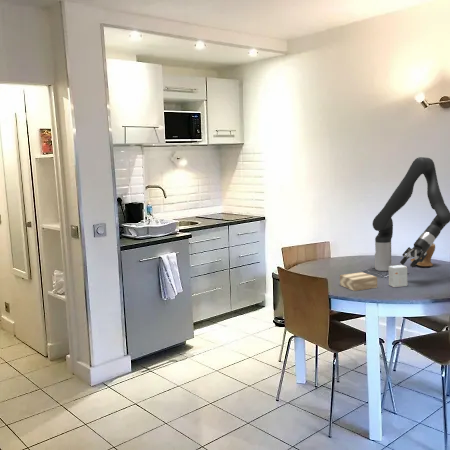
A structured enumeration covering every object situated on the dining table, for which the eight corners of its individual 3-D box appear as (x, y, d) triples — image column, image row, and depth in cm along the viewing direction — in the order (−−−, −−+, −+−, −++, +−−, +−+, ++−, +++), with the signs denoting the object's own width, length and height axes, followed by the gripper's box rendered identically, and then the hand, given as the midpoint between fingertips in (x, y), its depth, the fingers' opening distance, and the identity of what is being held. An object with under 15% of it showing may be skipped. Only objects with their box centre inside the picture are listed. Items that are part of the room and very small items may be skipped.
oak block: (340, 285, 277) (339, 274, 276) (362, 282, 281) (362, 272, 281) (354, 291, 264) (354, 280, 263) (377, 288, 268) (377, 277, 267)
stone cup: (438, 267, 308) (438, 243, 306) (418, 268, 308) (418, 243, 306) (429, 262, 323) (429, 239, 321) (410, 263, 323) (410, 239, 321)
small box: (402, 283, 274) (402, 264, 272) (407, 286, 268) (407, 266, 267) (388, 285, 272) (388, 265, 271) (393, 287, 267) (393, 267, 265)
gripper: (411, 235, 278) (393, 258, 276) (429, 239, 264) (410, 263, 262) (420, 244, 280) (402, 267, 278) (437, 248, 266) (419, 272, 264)
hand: (406, 265), depth 270 cm, fingers open, 8 cm apart
